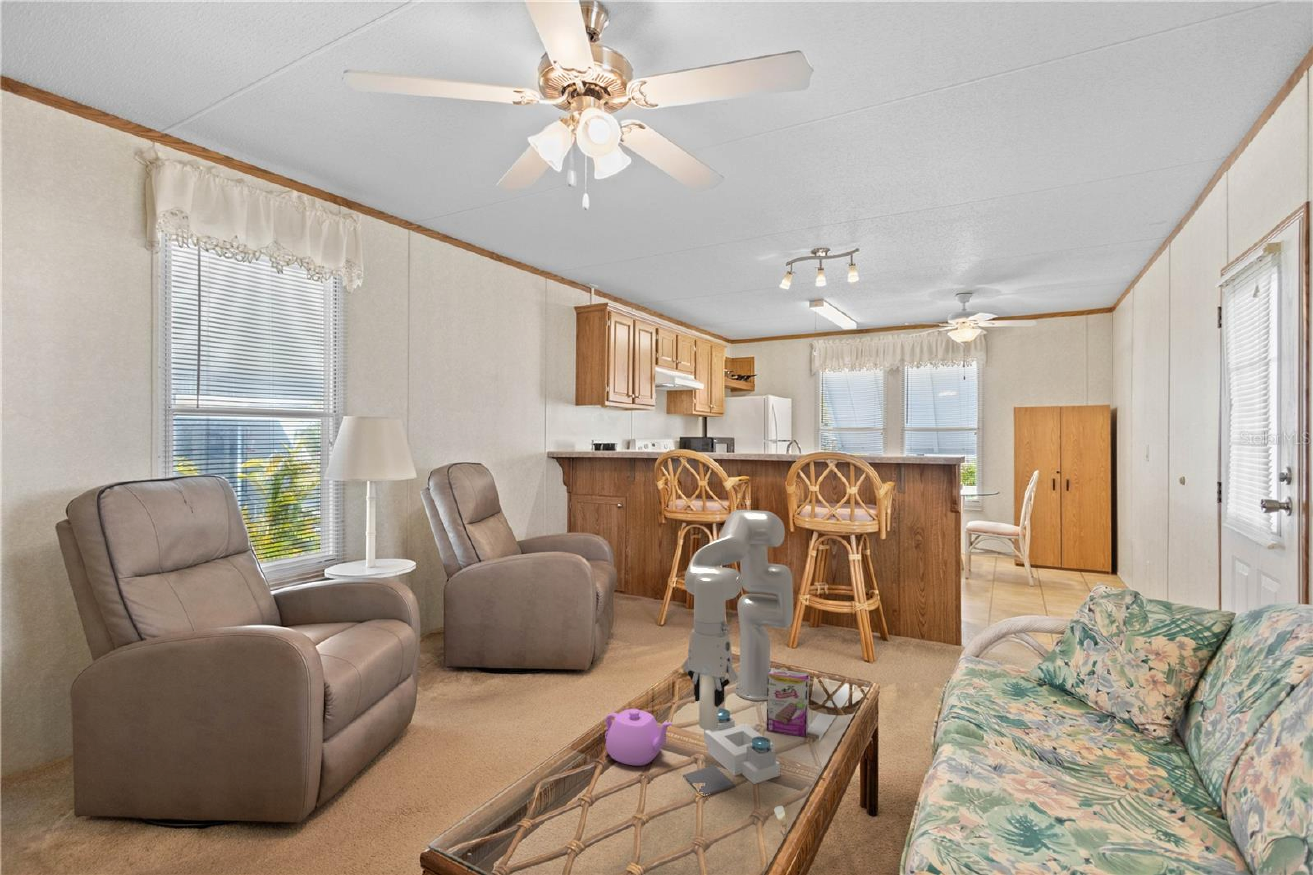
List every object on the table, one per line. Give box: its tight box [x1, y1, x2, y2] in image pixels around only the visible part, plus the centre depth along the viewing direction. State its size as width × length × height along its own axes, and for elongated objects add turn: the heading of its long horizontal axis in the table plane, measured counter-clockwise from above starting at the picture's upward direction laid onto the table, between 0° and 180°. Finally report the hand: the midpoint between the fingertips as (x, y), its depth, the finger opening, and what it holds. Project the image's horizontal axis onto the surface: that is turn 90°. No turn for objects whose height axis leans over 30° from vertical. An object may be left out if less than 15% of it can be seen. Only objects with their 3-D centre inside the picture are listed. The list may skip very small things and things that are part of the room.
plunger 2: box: [752, 736, 771, 754], centre depth 150 cm, size 4×4×5 cm
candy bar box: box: [766, 667, 810, 738], centre depth 171 cm, size 11×5×16 cm, turn 71°
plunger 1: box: [718, 707, 731, 723], centre depth 165 cm, size 4×4×5 cm
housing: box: [703, 716, 781, 785], centre depth 157 cm, size 22×12×6 cm, turn 28°
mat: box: [682, 764, 736, 795], centre depth 147 cm, size 9×9×1 cm
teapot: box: [604, 708, 673, 767], centre depth 158 cm, size 20×13×12 cm, turn 62°
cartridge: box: [698, 667, 720, 731], centre depth 146 cm, size 5×5×15 cm
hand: (709, 701), depth 146 cm, fingers closed on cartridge, 4 cm apart
